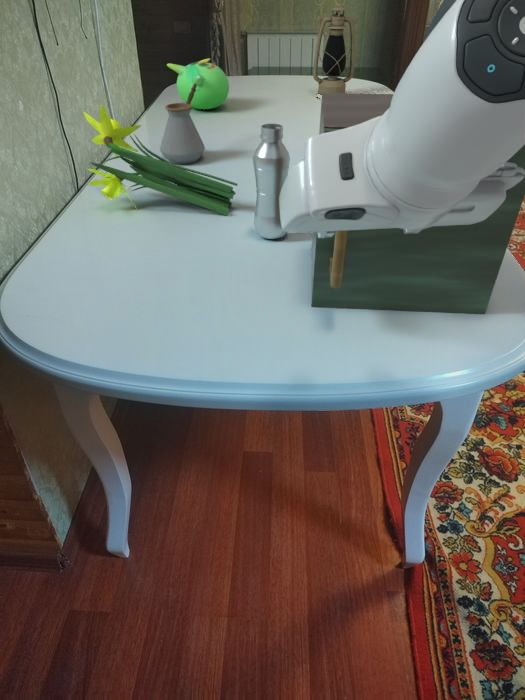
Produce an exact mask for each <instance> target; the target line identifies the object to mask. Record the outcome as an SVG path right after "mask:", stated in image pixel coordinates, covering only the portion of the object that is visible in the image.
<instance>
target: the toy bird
mask: <svg viewBox="0 0 525 700" xmlns="http://www.w3.org/2000/svg"><path fill="white" fill-rule="evenodd" d="M209 61H211V58H205V59H202V60H199V61H194V62H191V63H189V64H187V65H182V64H181V65H180V64H176V63H167V64H166V66H167V67H168V68H169V69H170V70H172V71H173V72H175V73H177V74H178V75H177V78H176V79H177V80H176V89H177V93H178V95H179V96H180V99H181V100H182V101H183V103H187V99H188V96H189V93H190V92H191V88H192V86H193V85H194V84H195V83H196V84H197V85H199V86H200V87H199V86H196V88H195V89H196V90H199V89H200V90H199V91H195V92H194V97H193V99H192V101H191V103H190V105H191V106H192V109H197V110H201V109H203V111H204V110H205V109H207V110H213V109H215V108H218V107H219V106H221V105H222V104H223V103H224V102H225V101H226V99H227V97H228V95H229V92H230V82H229V79H228V77H227V74H226V73H225V72H224V71H223V69H222V68H221V67H219V66H218V65H216V64H215V63H212V62H209ZM205 111H206V110H205Z"/></svg>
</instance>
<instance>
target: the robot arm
mask: <svg viewBox="0 0 525 700" xmlns="http://www.w3.org/2000/svg"><path fill="white" fill-rule="evenodd" d="M392 94H393V97H392V100H391V105H390V108H389V109H388V110H387V111H386V112H385V113H384V114H383V115H382V116H378V117H375V118H373V119H371V120H368V121H366V122H363V123H361V124H358V125H355V126H352V127H348V128H345V129H341V130H337V131H332V132H327V133H323V134H319V133H318V134H314V135H311V136H310V137H309V138H307V139H306V141H305V143H304V153H303V154H304V155H303V159H301V160H299V161H298V162H296V163H295V164H294V165H293V166H292V167H291V169H289V171H288V176H287V177H286V180H285V182H284V184H283V186H282V189H281V193H280V198H279V206H280V220H281V227H282V229H283V230H284V231H286V233H289V234H302V233H313V232H317V233H318V238H332V237H333V235H334V233H335V231H346V230H367V229H388V228H401V229H403V232H404V234H417V233H419V232H420V231H421V230H422V229H426V228H429V227H432V226H451V225H470V224H475V223H478V222H481V221H483V220H485V219H486V218H488V217H489V216H490V215H491V214H492V213H493V212H494V211H495V210H496V209H498V208H499V206H500V205H501V204H502V203H503V202H504V200H505V198H506V190H508V189H510V188H512V187H513V186H515V185H516V184H517V183H519V182H520V181H521V180H522V179H523V178H524V174H525V171H524V169H523V168H520V167H517V165H516V164H515V163H509V162H507V161H508V160H509V159H510V158H511V157H512V156H513V155H514V154H515V153H516V152H517V151H518V150H519V149H521V148H522V147H523V146H524V145H525V0H442V1H441V4H440V6H439V8H438V9H437V11H436V13H435V14H434V16H433V18H432V20H431V22H430V24H429V26H428V28H427V30H426V31H425V37H424V40H423V43H422V44H421V46H420V47H419V49H418V50H417V52H416V53H415V55H414V56H413V58H412V60H411V61H410V63H409V64H408V66H407V67H406V69H405V71H404V73H403V75H402V77H401V78H400V80H399V82H398V84H397V86H396V88H395V90H394V91H393V93H392Z"/></svg>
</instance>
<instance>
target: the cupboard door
mask: <svg viewBox="0 0 525 700" xmlns="http://www.w3.org/2000/svg"><path fill="white" fill-rule="evenodd" d="M337 130H341V129H328V128H325V129H324V133H327V132H332V131H337ZM507 162H509V163H515V164H516V165H517V167H520V168H523V169H524V171H525V145H524V146H523V147H522V148H521V149H519V150H518V151H517V152H516V153H515V154H514V155H513V156H512V157H511V158H510V159H509V160H508V161H507ZM524 199H525V174H524V178H523V179H522V180H521V181H520V182H519V183H517V184H516V185H515V186H513V187H512V188H510V189H508V190H506V198H505V200H504V202H503V203H502V204H501V205H500V206H499V208H498V209H496V210H495V211H494V212H493V213H492V214H491V215H490V216H489V217H488V218H486V219H485V220H483V221H481V222H478V223H475V224H470V225H451V226H432V227H429V228H426V229H422V230H421V231H420V232H419V233H417V234H404V232H403V229H401V228H388V229H367V230H346V231H335V233H334V235H333V237H332V238H318V233H316V246H315V260H314V274H313V288H312V301H311V300H310V302H311V303H310V305H311V307H313V308H314V307H315V308H334V309H336V308H337V309H359V310H360V309H361V310H383V311H385V310H386V311H405V312H428V313H429V312H431V313H452V314H476V315H477V314H478V315H485V314H486V311H487V309H488V305H489V302H490V299H491V298H492V294H493V292H494V291H493V290H494V287H495V284H496V282H497V280H498V276H499V274H500V270H501V267H502V264H503V261H504V259H505V255H506V252H507V250H508V246H509V243H510V240H511V237H512V235H513V232H514V229H515V226H516V222H517V220H518V216H519V213H520V211H521V208H522V204H523V201H524Z"/></svg>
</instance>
